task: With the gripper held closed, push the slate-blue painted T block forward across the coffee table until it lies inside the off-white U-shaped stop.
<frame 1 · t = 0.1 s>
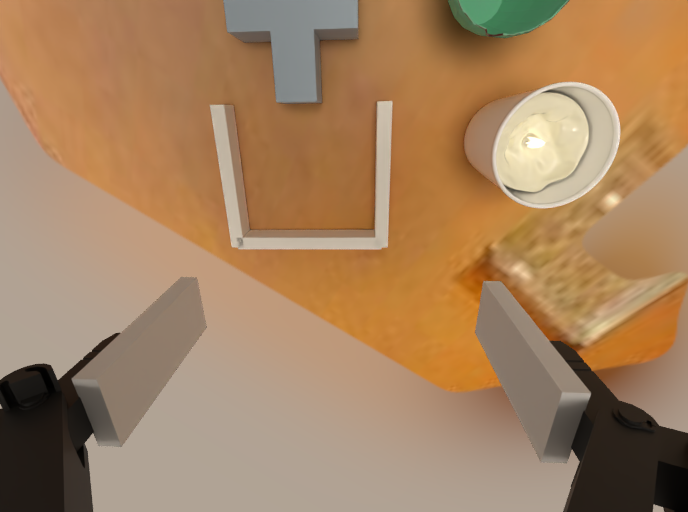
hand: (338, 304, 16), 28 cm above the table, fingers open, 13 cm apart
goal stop: (308, 176, 42), on the table
candle holder: (500, 138, 39), on the table
t block: (300, 40, 36), on the table
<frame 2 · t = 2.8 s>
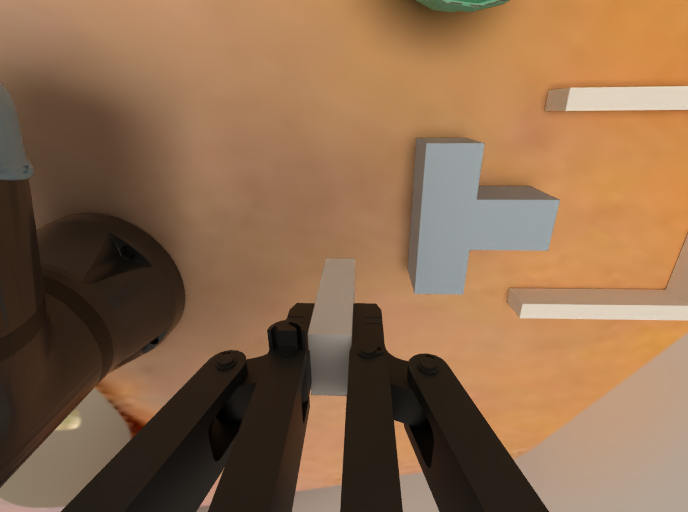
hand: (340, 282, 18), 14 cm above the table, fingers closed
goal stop: (618, 208, 30), on the table
t block: (456, 208, 31), on the table
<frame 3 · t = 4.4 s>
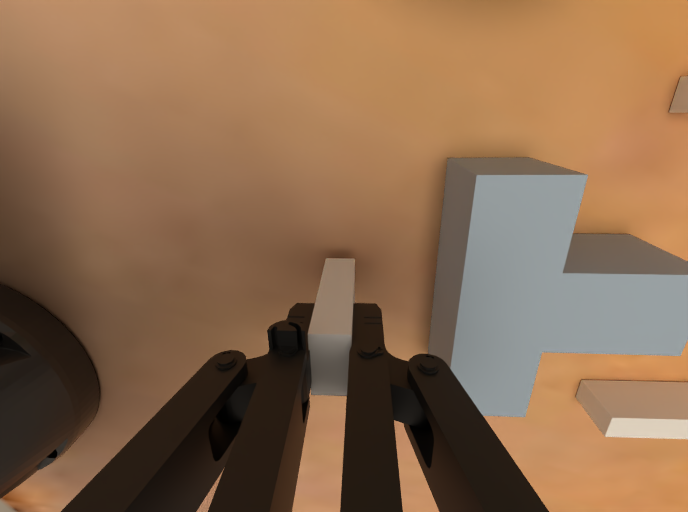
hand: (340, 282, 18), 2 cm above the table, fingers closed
t block: (508, 266, 20), on the table
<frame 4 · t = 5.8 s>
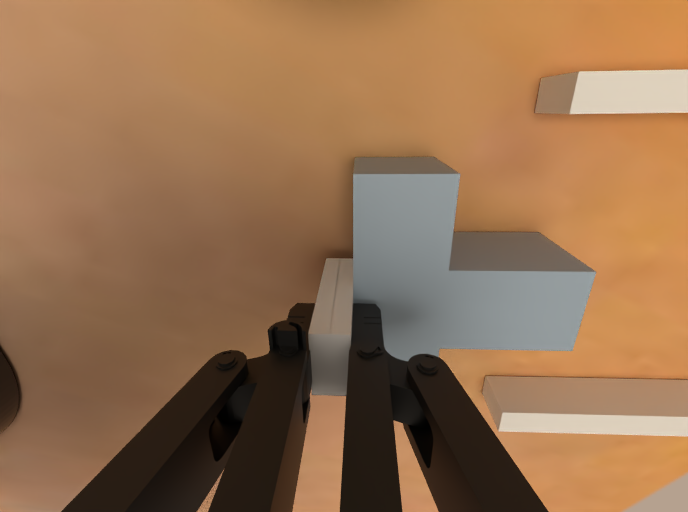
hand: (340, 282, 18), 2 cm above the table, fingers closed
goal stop: (652, 266, 19), on the table
t block: (424, 264, 20), on the table
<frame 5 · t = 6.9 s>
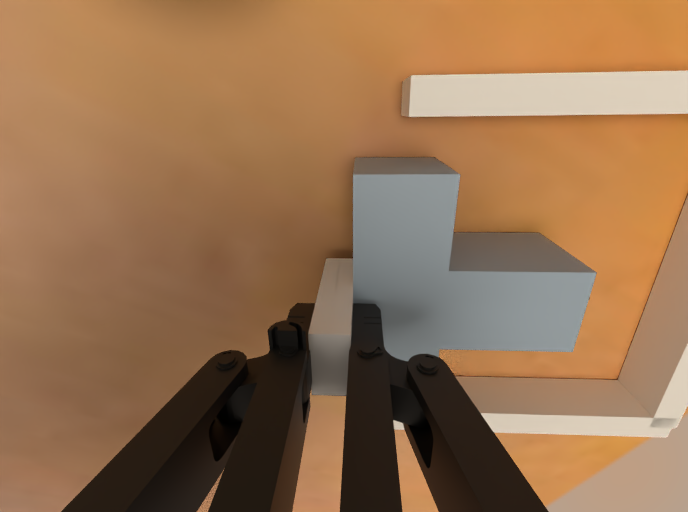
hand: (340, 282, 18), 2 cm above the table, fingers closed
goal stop: (535, 266, 20), on the table
t block: (424, 265, 20), on the table, touching gripper
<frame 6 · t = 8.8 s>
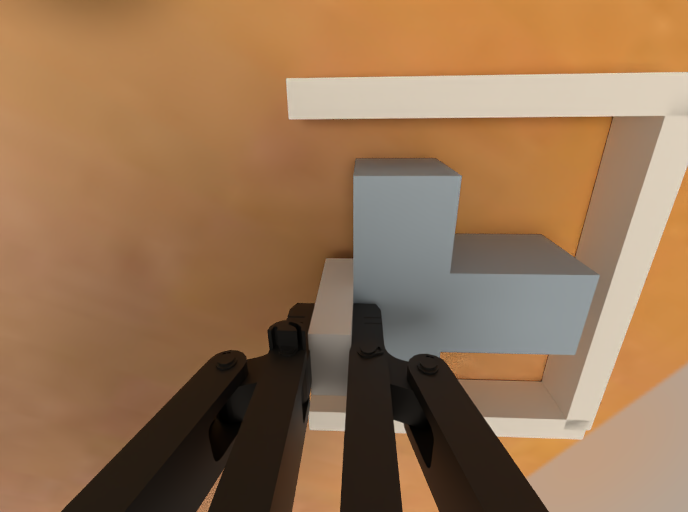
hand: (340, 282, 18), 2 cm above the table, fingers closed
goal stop: (449, 268, 20), on the table
t block: (425, 266, 20), on the table
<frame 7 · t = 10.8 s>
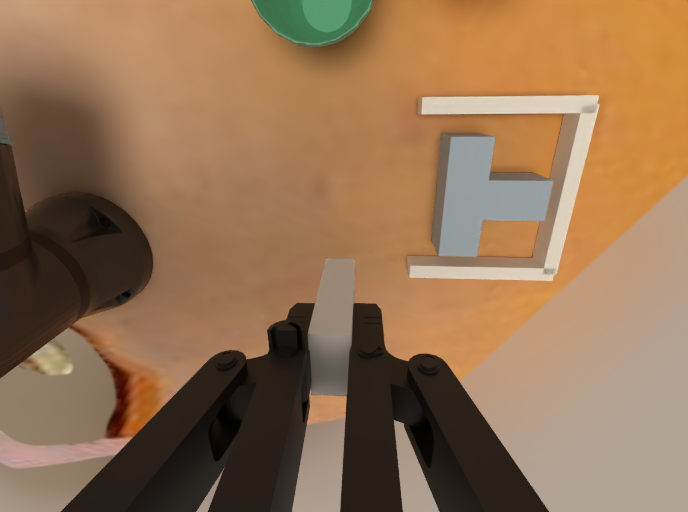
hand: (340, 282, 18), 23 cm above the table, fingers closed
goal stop: (484, 190, 39), on the table
t block: (472, 190, 39), on the table
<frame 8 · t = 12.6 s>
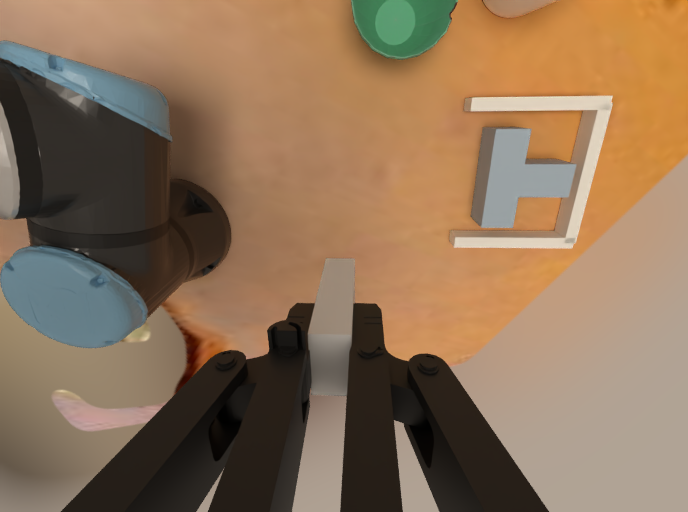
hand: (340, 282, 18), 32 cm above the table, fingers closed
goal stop: (516, 174, 47), on the table
mug: (388, 0, 40), on the table
t block: (506, 174, 47), on the table
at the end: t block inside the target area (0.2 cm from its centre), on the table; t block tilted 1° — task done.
